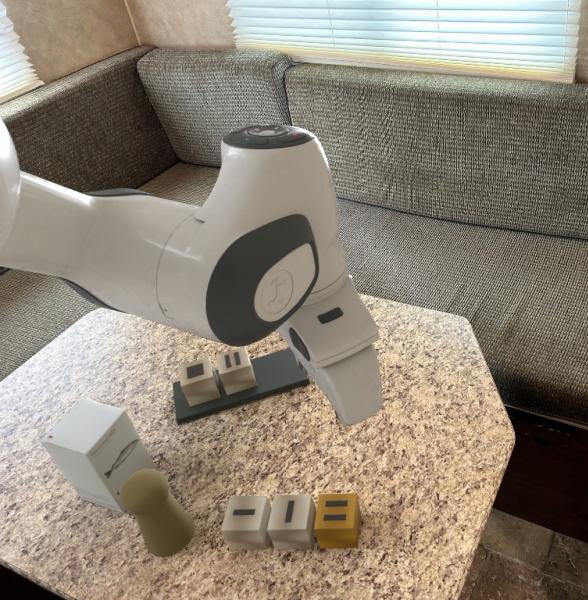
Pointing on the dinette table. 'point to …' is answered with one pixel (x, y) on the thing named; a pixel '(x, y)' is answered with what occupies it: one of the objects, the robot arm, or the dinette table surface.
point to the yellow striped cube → (338, 521)
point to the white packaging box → (97, 451)
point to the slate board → (270, 380)
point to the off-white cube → (247, 522)
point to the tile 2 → (236, 370)
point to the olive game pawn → (157, 513)
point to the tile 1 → (199, 381)
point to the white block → (292, 521)
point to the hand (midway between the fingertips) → (326, 392)
